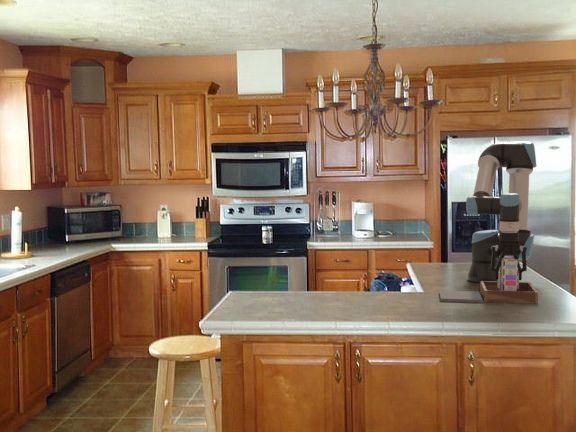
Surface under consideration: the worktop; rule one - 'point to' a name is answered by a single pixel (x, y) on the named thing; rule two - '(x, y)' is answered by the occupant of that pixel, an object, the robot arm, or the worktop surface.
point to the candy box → (509, 274)
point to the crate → (508, 293)
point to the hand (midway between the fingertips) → (508, 287)
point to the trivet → (460, 296)
